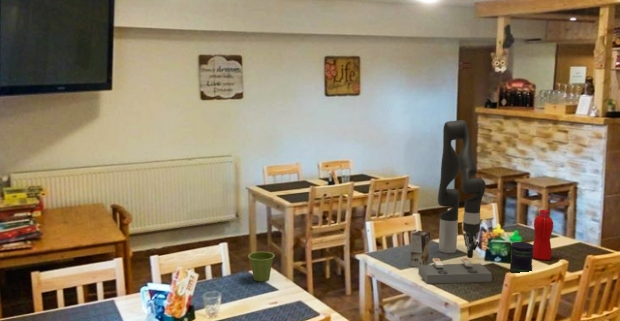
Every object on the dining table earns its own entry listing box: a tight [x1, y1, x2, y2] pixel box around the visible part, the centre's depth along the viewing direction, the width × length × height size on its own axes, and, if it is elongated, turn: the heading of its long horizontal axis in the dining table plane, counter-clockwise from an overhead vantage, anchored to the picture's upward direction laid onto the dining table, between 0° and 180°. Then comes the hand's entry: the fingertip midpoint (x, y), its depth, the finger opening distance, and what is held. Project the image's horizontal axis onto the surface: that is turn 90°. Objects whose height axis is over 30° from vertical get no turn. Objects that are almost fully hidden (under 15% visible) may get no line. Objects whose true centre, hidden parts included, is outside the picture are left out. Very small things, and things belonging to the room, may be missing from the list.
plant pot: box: [247, 251, 275, 282], centre depth 276 cm, size 12×12×11 cm
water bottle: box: [532, 209, 554, 261], centre depth 308 cm, size 9×11×25 cm
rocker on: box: [460, 257, 474, 266], centre depth 285 cm, size 7×3×1 cm, turn 6°
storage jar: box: [509, 241, 534, 273], centre depth 283 cm, size 10×10×15 cm
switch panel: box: [418, 262, 493, 285], centre depth 281 cm, size 14×30×4 cm, turn 96°
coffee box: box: [409, 230, 431, 268], centre depth 298 cm, size 9×6×16 cm
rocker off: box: [432, 258, 444, 268], centre depth 283 cm, size 7×3×1 cm, turn 6°
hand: (469, 257), depth 281 cm, fingers closed
